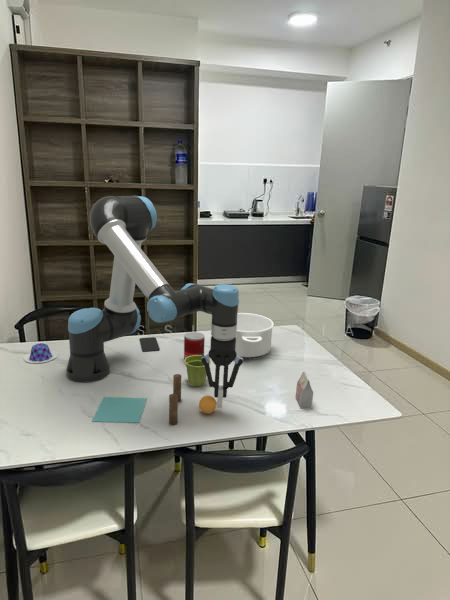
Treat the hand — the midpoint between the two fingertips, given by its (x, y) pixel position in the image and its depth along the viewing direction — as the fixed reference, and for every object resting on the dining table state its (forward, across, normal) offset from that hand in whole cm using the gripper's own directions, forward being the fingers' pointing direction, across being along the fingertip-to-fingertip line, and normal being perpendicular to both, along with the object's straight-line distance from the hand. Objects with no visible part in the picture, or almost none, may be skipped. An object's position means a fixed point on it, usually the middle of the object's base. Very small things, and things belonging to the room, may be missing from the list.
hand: (219, 405), depth 130 cm
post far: (+2, -14, +6) cm, 15 cm away
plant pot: (+2, -8, +19) cm, 20 cm away
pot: (+3, +12, +47) cm, 49 cm away
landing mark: (+2, -31, 0) cm, 31 cm away
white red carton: (+2, +28, +6) cm, 29 cm away
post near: (+2, -14, -7) cm, 16 cm away
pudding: (+3, -69, +36) cm, 78 cm away
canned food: (+3, -9, +37) cm, 38 cm away
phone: (+3, -29, +52) cm, 60 cm away
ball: (-1, -4, 0) cm, 4 cm away
